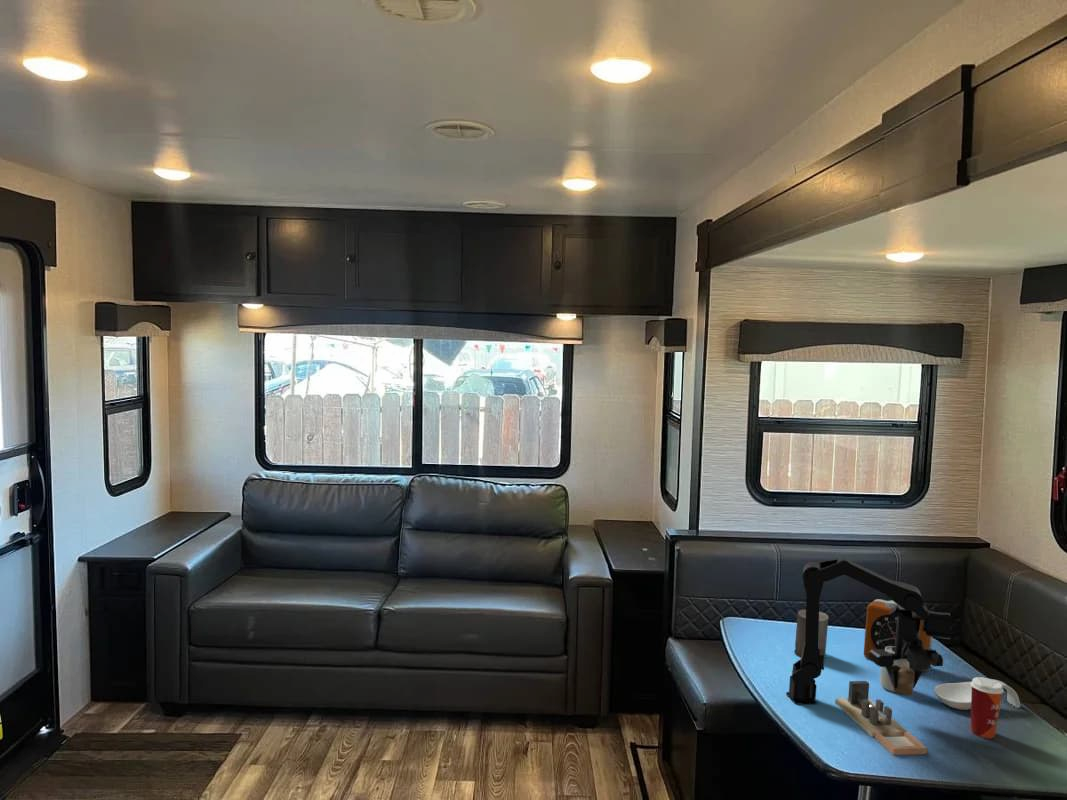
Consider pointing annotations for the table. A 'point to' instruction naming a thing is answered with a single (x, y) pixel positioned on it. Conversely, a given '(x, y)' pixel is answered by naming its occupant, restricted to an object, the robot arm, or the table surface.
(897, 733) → the beige piece
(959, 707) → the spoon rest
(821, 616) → the pillar candle
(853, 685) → the shaft
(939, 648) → the table surface
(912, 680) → the brown dome-ended cylinder
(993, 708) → the paper cup
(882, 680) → the can
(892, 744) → the picture frame
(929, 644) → the alarm clock
